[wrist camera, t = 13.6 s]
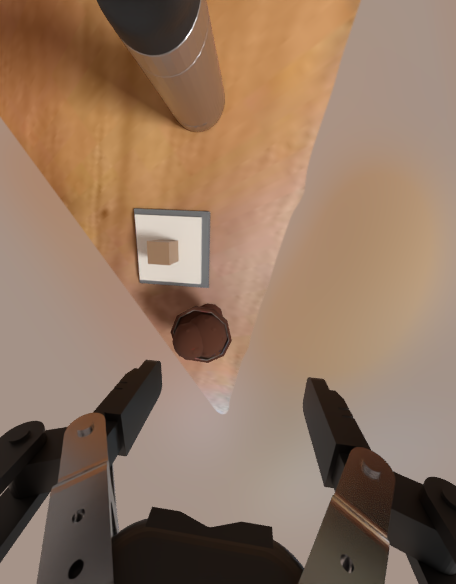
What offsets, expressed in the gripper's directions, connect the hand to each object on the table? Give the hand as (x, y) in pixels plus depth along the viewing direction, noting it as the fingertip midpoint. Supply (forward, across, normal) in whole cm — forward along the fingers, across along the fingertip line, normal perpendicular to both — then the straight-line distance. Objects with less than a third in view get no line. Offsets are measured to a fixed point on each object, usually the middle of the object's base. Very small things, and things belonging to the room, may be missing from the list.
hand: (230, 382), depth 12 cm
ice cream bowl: (+33, +7, +11) cm, 36 cm away
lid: (+32, +16, -3) cm, 36 cm away
